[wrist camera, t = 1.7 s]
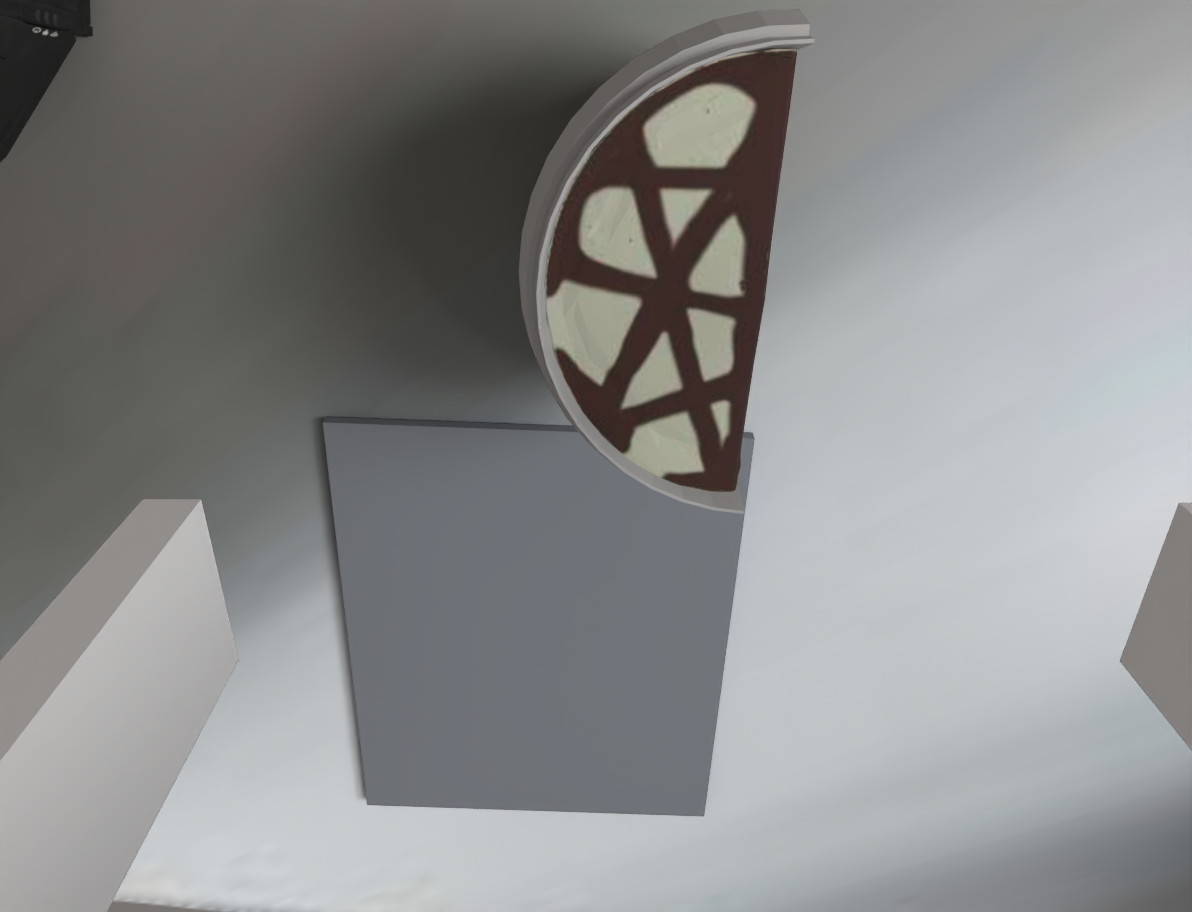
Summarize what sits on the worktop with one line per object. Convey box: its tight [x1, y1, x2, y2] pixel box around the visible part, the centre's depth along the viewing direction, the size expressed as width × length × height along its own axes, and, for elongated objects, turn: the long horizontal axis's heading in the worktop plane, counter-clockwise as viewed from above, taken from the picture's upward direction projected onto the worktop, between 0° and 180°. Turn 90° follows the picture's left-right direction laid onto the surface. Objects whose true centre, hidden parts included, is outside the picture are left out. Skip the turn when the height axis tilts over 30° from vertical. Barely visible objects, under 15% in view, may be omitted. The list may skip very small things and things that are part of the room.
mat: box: [323, 417, 754, 816], centre depth 37 cm, size 16×20×1 cm
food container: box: [519, 9, 815, 514], centre depth 25 cm, size 12×6×10 cm, turn 177°
